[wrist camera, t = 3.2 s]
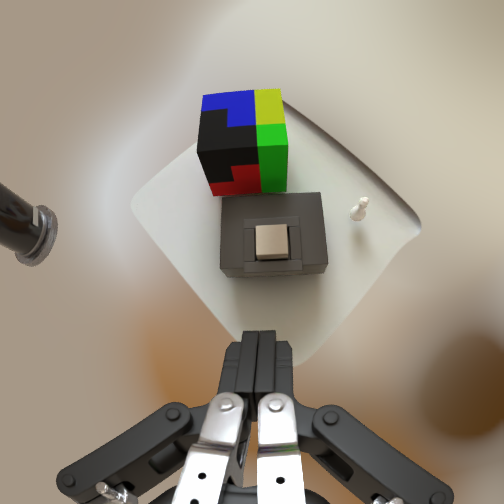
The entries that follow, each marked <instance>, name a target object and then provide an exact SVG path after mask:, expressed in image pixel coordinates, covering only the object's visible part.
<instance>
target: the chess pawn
mask: <svg viewBox="0 0 504 504" xmlns="http://www.w3.org/2000/svg"><path fill="white" fill-rule="evenodd" d="M368 202H369V199H368V198H367V197H362V198H361V199H360V201H359V203H358V206H356V207H354V208H352V210H351V211H350V218H351V219H352V220H353V221H361V220H362V219H363V218H364V217H365V214H366V212H365V208H366V207H367V204H368Z"/></svg>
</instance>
